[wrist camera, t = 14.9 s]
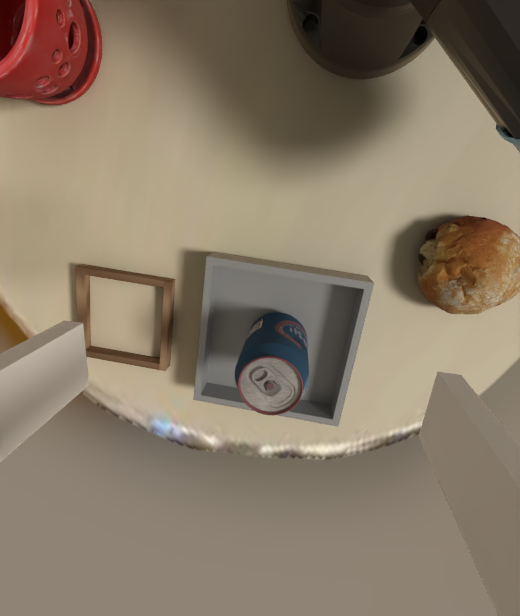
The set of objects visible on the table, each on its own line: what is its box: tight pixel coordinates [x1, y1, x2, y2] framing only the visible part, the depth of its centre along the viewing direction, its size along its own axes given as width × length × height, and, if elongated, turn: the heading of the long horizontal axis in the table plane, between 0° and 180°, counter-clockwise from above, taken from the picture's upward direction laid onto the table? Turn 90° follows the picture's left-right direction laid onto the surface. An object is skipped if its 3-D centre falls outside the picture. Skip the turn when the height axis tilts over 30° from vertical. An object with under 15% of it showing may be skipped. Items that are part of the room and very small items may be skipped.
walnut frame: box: [75, 264, 175, 371], centre depth 42 cm, size 12×12×2 cm
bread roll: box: [417, 216, 520, 314], centre depth 35 cm, size 10×10×8 cm
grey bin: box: [194, 252, 374, 426], centre depth 40 cm, size 18×18×4 cm
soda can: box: [235, 312, 309, 415], centre depth 35 cm, size 7×7×12 cm
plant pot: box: [0, 0, 102, 105], centre depth 29 cm, size 13×13×12 cm
